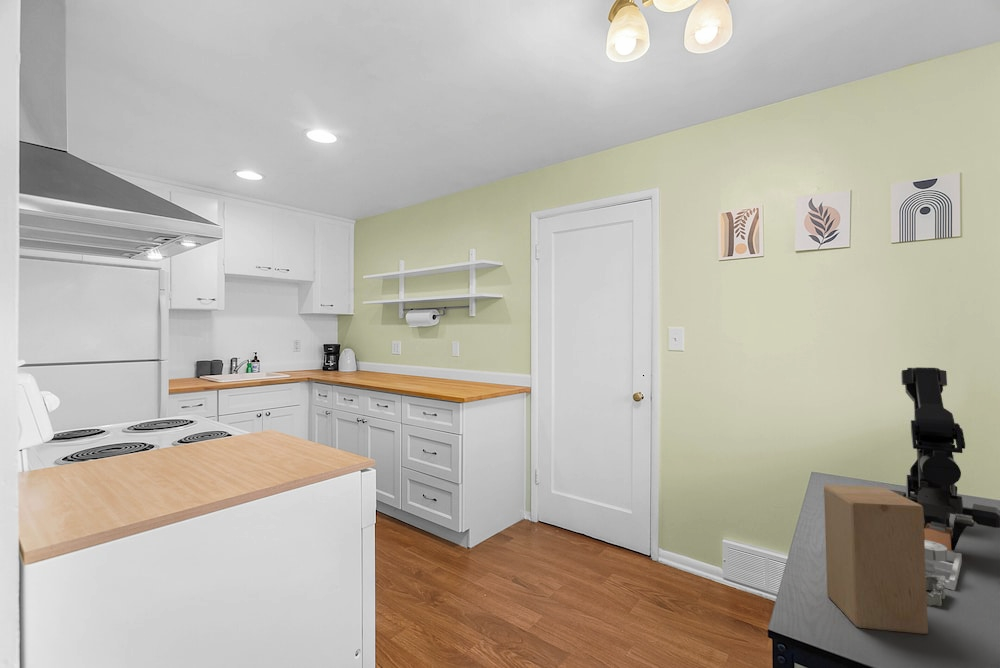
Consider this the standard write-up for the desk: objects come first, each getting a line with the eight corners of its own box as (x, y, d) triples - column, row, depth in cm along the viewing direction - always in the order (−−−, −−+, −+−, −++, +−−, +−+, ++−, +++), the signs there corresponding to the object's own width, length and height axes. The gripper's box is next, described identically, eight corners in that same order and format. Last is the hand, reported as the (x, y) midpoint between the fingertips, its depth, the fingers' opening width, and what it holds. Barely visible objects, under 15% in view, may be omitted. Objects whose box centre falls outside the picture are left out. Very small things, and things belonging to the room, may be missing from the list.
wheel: (913, 547, 94) (912, 536, 94) (948, 555, 90) (948, 544, 90) (909, 554, 90) (908, 544, 91) (945, 564, 87) (945, 552, 87)
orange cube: (928, 545, 104) (927, 519, 104) (953, 551, 101) (951, 524, 101) (925, 552, 101) (924, 525, 101) (950, 558, 98) (949, 530, 98)
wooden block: (929, 635, 72) (924, 505, 73) (856, 628, 74) (852, 502, 75) (889, 601, 82) (885, 486, 82) (826, 595, 84) (822, 483, 84)
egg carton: (863, 586, 87) (862, 564, 88) (876, 574, 92) (874, 553, 92) (939, 611, 79) (938, 587, 79) (949, 596, 83) (948, 573, 83)
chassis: (913, 550, 101) (912, 540, 101) (961, 562, 96) (961, 551, 96) (901, 575, 90) (900, 564, 91) (954, 590, 85) (954, 578, 85)
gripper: (874, 473, 103) (876, 544, 102) (997, 492, 89) (1001, 574, 88) (883, 464, 110) (886, 530, 110) (999, 480, 96) (1002, 556, 96)
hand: (938, 546), depth 101 cm, fingers closed on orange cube, 4 cm apart
